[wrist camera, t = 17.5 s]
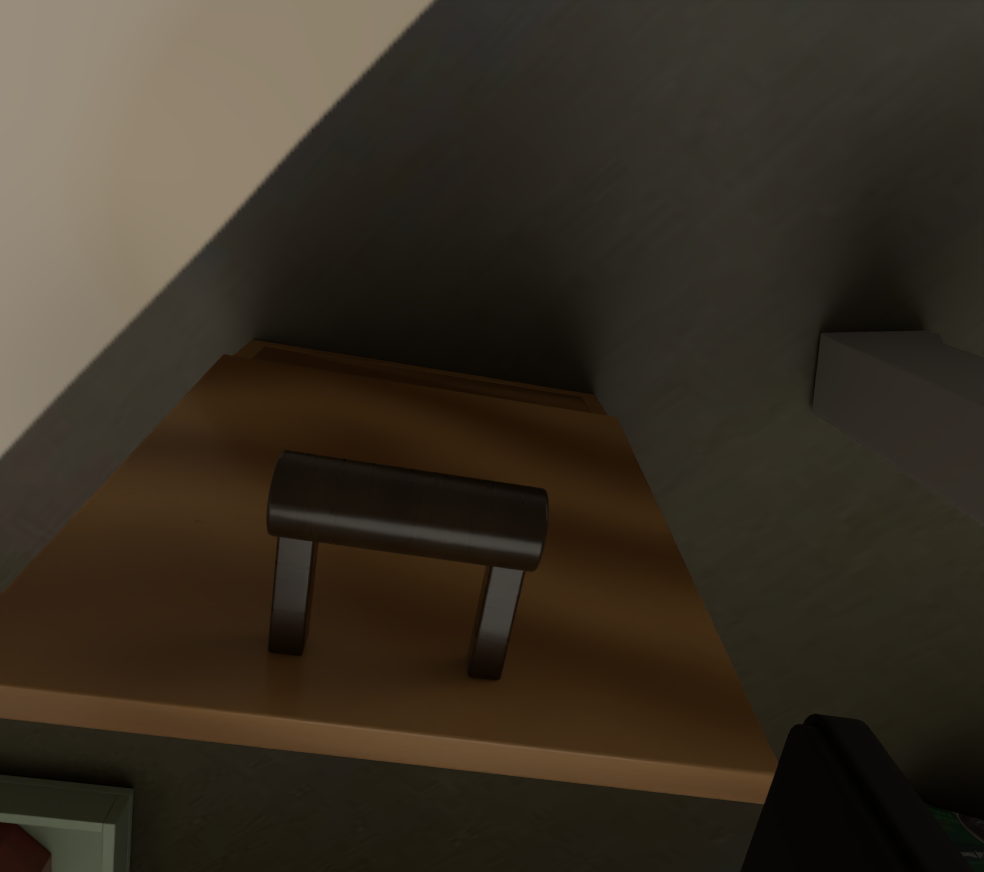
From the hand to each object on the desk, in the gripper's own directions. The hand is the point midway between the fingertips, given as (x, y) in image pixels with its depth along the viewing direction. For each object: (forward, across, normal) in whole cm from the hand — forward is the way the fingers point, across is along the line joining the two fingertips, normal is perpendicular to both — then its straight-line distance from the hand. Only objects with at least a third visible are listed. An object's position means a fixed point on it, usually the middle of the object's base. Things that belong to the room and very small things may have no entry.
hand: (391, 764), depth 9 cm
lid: (+14, 0, +3) cm, 14 cm away
